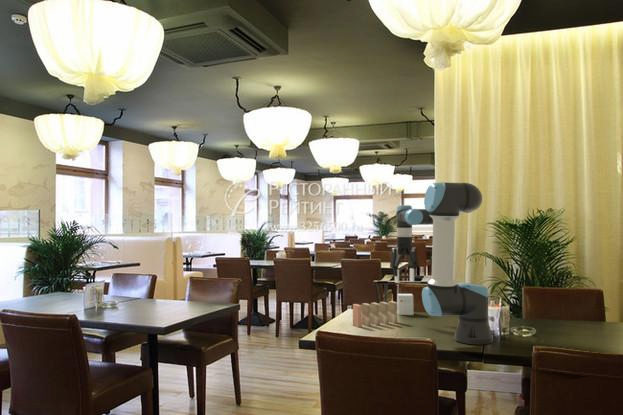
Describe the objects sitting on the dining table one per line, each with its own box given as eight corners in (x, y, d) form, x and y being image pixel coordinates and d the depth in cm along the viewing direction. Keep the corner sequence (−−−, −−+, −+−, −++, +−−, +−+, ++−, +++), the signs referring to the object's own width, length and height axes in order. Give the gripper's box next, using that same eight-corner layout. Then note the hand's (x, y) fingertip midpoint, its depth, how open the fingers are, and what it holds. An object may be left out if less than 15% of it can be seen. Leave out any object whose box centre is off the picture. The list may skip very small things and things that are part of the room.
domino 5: (391, 321, 249) (391, 301, 250) (397, 323, 245) (397, 302, 245) (388, 321, 249) (388, 301, 249) (393, 323, 244) (393, 302, 244)
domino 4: (383, 322, 247) (383, 301, 248) (388, 324, 243) (388, 303, 243) (379, 322, 247) (379, 302, 247) (385, 324, 242) (385, 303, 242)
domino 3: (374, 323, 245) (374, 302, 245) (379, 325, 241) (379, 304, 241) (370, 323, 244) (370, 302, 245) (376, 325, 240) (376, 304, 240)
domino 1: (356, 324, 241) (356, 303, 241) (361, 326, 237) (361, 305, 237) (352, 325, 240) (352, 304, 240) (358, 327, 236) (357, 305, 236)
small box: (412, 313, 270) (412, 293, 271) (413, 315, 265) (413, 295, 265) (397, 313, 271) (397, 293, 271) (398, 315, 266) (398, 295, 266)
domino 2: (365, 324, 243) (365, 303, 243) (370, 326, 239) (370, 304, 239) (361, 324, 242) (361, 303, 243) (367, 326, 238) (367, 305, 238)
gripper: (417, 235, 258) (417, 280, 258) (382, 236, 249) (382, 282, 249) (426, 236, 251) (426, 281, 251) (390, 236, 243) (390, 284, 242)
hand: (404, 282), depth 250 cm, fingers open, 8 cm apart
